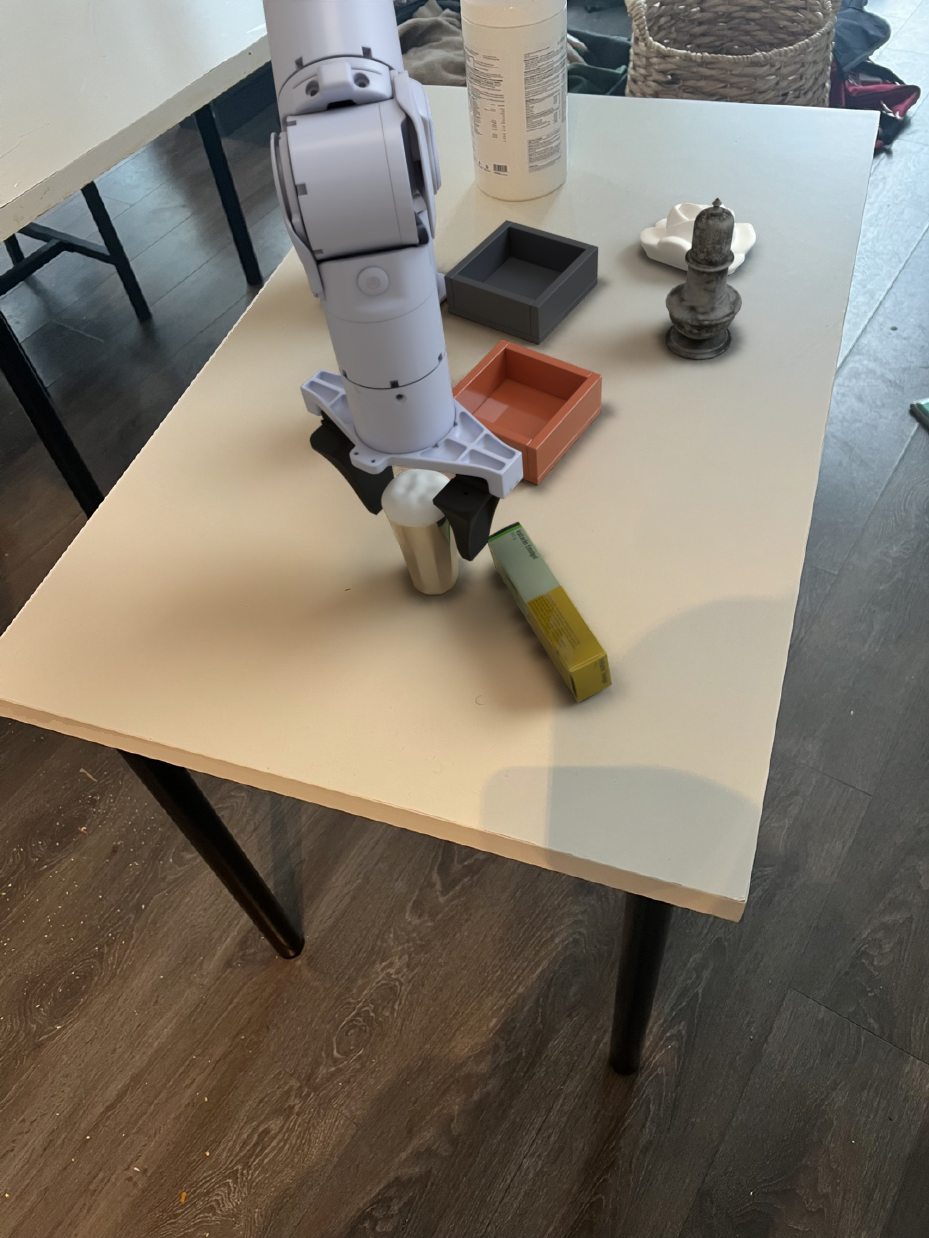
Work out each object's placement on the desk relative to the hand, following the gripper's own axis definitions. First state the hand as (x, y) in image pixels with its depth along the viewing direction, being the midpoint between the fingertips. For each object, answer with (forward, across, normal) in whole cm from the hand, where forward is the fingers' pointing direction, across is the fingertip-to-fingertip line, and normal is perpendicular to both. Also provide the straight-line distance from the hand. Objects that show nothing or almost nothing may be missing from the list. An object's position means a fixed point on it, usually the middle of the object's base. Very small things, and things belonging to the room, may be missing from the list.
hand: (427, 526), depth 56 cm
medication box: (+5, +9, 0) cm, 10 cm away
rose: (+5, -2, +42) cm, 42 cm away
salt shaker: (+5, +4, +31) cm, 32 cm away
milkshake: (+5, 0, 0) cm, 5 cm away
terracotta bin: (+5, -3, +15) cm, 16 cm away
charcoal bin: (+5, -12, +29) cm, 32 cm away
